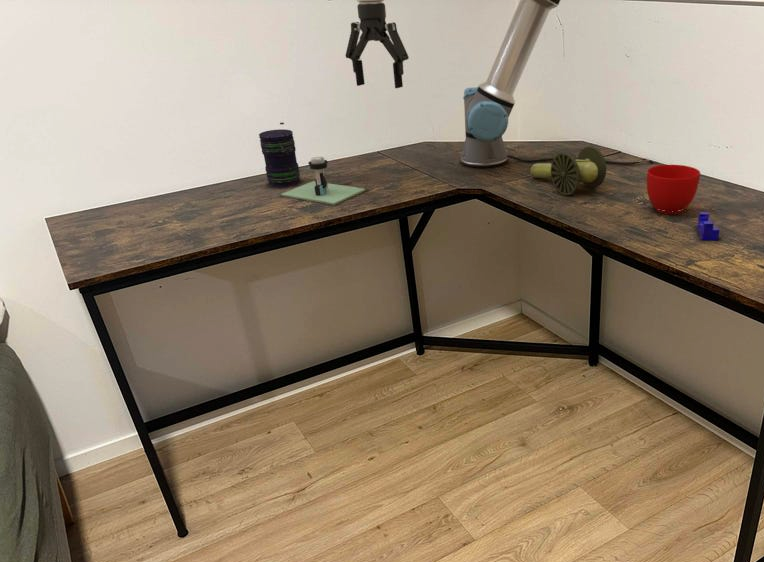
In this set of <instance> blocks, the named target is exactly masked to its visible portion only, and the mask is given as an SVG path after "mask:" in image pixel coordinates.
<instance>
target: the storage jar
mask: <svg viewBox="0 0 764 562" xmlns="http://www.w3.org/2000/svg"><path fill="white" fill-rule="evenodd" d="M279 125H285V122H279ZM258 137H259V142H260V148H261V153H262V155H263V158H264V164H265V168H264V169H265V172H266V173H265V175H266V178H267V181H268V186H269V187H270V188H273V189H287V188H293V187H297V186H299V185H300V184H301V183H302V180H301V171H300V165H299V163H298V161H297V156H296V155H297V154H296V151H297V150H296V143H295V139H294V133H293V130H291V129H280V128H279V129H269V130H265V131H262V132H260V133H259V134H258Z"/></svg>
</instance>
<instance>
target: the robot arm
mask: <svg viewBox="0 0 764 562" xmlns="http://www.w3.org/2000/svg"><path fill="white" fill-rule="evenodd" d="M384 1H385V0H356V2H357V3H359V4H357V6H356V7H357V8H356V9H357V17H358V19H359V21H355V22H354V21H353V22H350V34H349V39H348V43H347V47H346V52H345V58H346V59H350V60H351V63H352V71H353V73H355V81H356V86H357V87H360V86H364V85H365V84H366V83H365V76H364V75H365V74H364V65H363V60H362V59H361V56H362V55H363V52H364V51H365V49H366V46H367V45H368V43H369V42H370V41H371V42H372V41H374V42H379V43H381V44H382V46H383V47H384V49H386V51H387V53H388V54H389V55H390V57H391V58H392V60H393V61H394V62H392V69H393V70H392V71H393V80H394V89H400V88H403V87H404V86H403V83H404V82H403V75H404V74H405V73H404V62H405V61H407V60H409V54H408V52H407V50H406V48H405V45H404V43H403V41H402V39H401V36H400V34H399V32H398V27H397V24H396V22H395V21H394V22H389V23H387V22H386V18H387V12H386V4H385V3H384ZM560 2H561V0H519V1H518V4H517V6H516V9H515V11H514V13H513V16H512V19H511V21H510V23H509V26H508V28H507V30H506V33H505V36H504V38H503V40H502V42H501V45H500V47H499V50H498V51H497V55H496V57H495V59H494V61H493V64H492V66H491V69H490V72H489V74H488V76H487V79H486V81H484V82H482V83H480V84H478V85H477V86H475V87H466V88H465V89H464V91H463V97H462V98H463V105H464V107H463V108H464V129H465V139H464V143H463V147H462V151H461V154H460V163H461V165H463V166H464V167H470V168H478V169H486V168H487V169H488V168H489V169H490V168H495V167H500V166H501V167H502V166H503V165H505V164H507V163H508V162H509V159H511V160H516V161H519V162H523V163H536V162H537V163H538V162H544V161H546V162H547V161H553V159H554V158H555V157H545V158H535V159H523V158H519V157H516V156H513V155H509V154H508V151H507V148H506V146H505V143H504V140H503V135H504V134H505V133H506V131H507V129H508V125H509V117H510V115H511V113H512V111H513V109H514V107H515V103H516V100H515V98H514V94H515V91H516V89H517V86H518V84H519V81H520V79H521V77H522V74H523V72H524V70H525V68H526V66H527V64H528V61H529V60H530V57H531V54H532V52H533V49H534V48H535V45H536V43H537V41H538V38H539V36H540V34H541V33H542V29H543V27H544V25H545V23H546V21H547V18H548V16H549V13H550V11H552V9H555V8H557V7H559V5H560ZM387 32H388V33H387ZM360 33H361V34H360ZM573 158H574V159H575V160H577V158H578V157H573ZM646 159H647V158H641V160H646ZM605 162H606V164H612V165H623V166H625V165H627V166H630V165H637V164H640V163H642V162H644V161H642V162H635V161H632V162H631V161H629V162H627V161H626V162H625V161H623V162H622V161H614V160H613V161H612V160H605ZM647 162H648V163H650V164H651V165H654V164H655V163H654V161H653V160H651V159H650V161H647Z"/></svg>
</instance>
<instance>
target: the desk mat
mask: <svg viewBox="0 0 764 562" xmlns="http://www.w3.org/2000/svg"><path fill="white" fill-rule="evenodd" d="M315 181H316V180H313V181H310V182H307V183H305V184H301V185H300V186H298V187H297V186H296V187H295V188H293V189H290V190H287V191H285V192H282V193H280V196H281V197H284V198H291V199H297V200H303V201H308V202H314V203H321V204H326V205H331V206H336V205H338V204H340V203H342V202H345V201H347V200H349V199H352V198H353V197H355V196H357V195H360V194H362V193H364V192H366V188H362V187H355V186H349V185H344V184H343V185H341V184H337V183H330V182H327V183H328V187H329V188H328V193H326V194H324V195H323V196H316V194H315V188H314V187H315V186H316V182H315Z"/></svg>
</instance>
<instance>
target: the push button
mask: <svg viewBox="0 0 764 562" xmlns="http://www.w3.org/2000/svg"><path fill="white" fill-rule="evenodd" d="M328 163H329V162H328V160H327V159H325V158H324V157H323V156H314V157H311V158H310V161H308V166H309V169H310V170H312V171H314V173H315V177H316V178H315V180H314V181H315V182H316V186H315V187H314V188H315V194H316V196H323V195H324V194H326V193H328V188H329V187H328V183H329V182H328V181H327V179H326V178H325V173H324V170H325V169H327V168H328Z"/></svg>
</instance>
